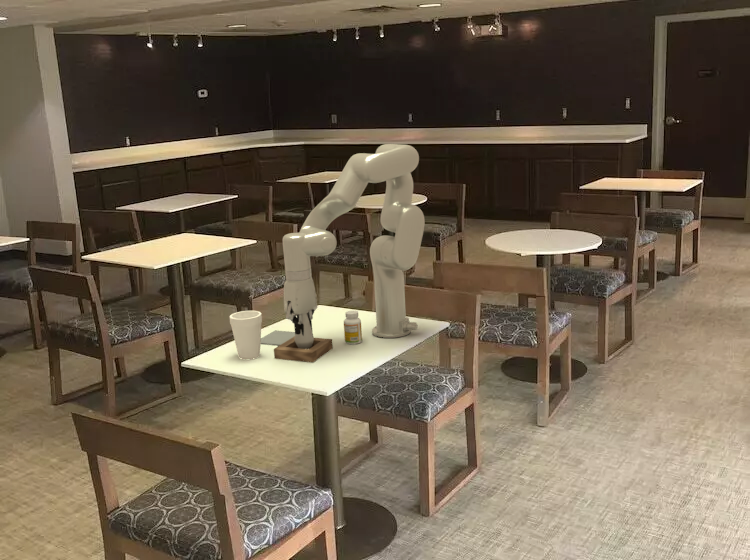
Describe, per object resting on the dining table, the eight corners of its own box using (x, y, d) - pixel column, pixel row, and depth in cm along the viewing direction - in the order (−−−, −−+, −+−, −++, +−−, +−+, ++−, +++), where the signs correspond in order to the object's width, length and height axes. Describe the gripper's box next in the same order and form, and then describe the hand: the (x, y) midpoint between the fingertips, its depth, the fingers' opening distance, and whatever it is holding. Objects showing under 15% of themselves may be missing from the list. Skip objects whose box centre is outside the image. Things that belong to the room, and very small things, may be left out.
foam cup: (246, 349, 238) (242, 309, 235) (271, 352, 234) (267, 312, 231) (227, 359, 230) (223, 317, 227) (252, 363, 225) (248, 320, 222)
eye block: (332, 348, 235) (332, 339, 234) (312, 362, 223) (312, 352, 222) (295, 345, 240) (295, 335, 239) (274, 358, 228) (273, 348, 228)
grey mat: (309, 334, 250) (309, 333, 250) (289, 346, 238) (289, 345, 238) (275, 331, 255) (275, 330, 255) (254, 343, 244) (254, 342, 244)
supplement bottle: (352, 338, 244) (350, 309, 241) (365, 341, 240) (364, 311, 238) (341, 343, 240) (339, 313, 237) (354, 345, 236) (352, 315, 234)
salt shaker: (317, 344, 233) (314, 303, 229) (308, 350, 227) (305, 308, 224) (301, 343, 235) (297, 302, 232) (291, 349, 230) (287, 307, 227)
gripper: (306, 267, 234) (312, 325, 239) (270, 280, 222) (276, 340, 226) (325, 269, 230) (330, 328, 234) (289, 282, 217) (295, 344, 222)
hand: (303, 333), depth 230 cm, fingers closed on salt shaker, 3 cm apart
